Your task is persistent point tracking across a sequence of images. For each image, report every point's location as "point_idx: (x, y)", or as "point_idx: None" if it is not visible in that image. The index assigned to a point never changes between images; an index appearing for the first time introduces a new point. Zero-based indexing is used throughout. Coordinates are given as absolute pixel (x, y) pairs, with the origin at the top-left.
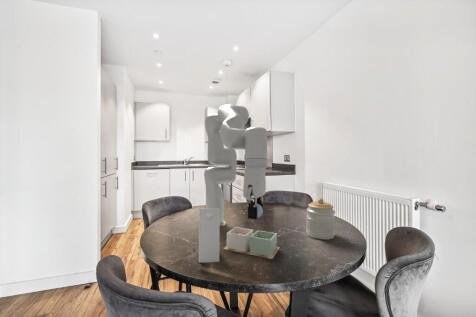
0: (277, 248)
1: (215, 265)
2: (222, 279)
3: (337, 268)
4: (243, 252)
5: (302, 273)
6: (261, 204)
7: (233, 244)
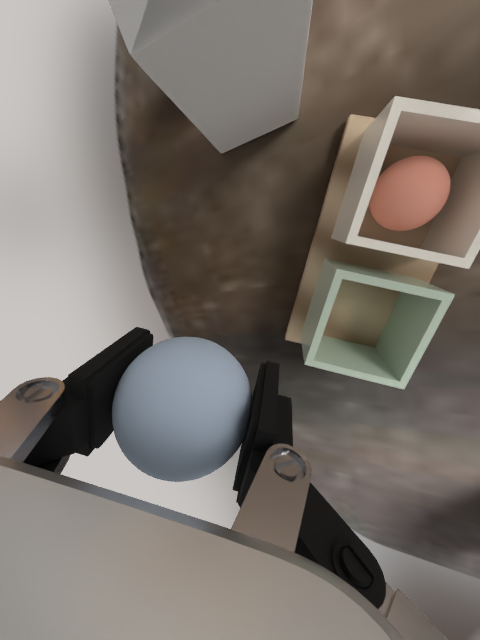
0: None
1: None
2: (143, 201)
3: None
4: (320, 230)
5: None
6: (236, 489)
7: (356, 169)
